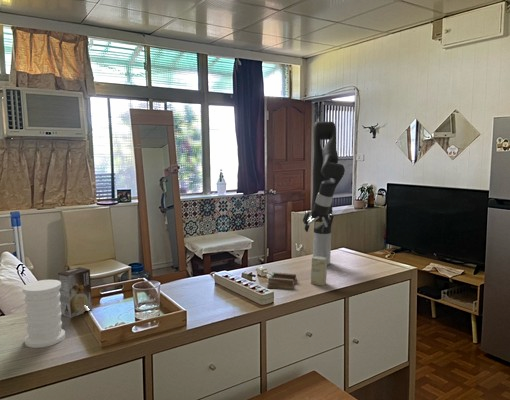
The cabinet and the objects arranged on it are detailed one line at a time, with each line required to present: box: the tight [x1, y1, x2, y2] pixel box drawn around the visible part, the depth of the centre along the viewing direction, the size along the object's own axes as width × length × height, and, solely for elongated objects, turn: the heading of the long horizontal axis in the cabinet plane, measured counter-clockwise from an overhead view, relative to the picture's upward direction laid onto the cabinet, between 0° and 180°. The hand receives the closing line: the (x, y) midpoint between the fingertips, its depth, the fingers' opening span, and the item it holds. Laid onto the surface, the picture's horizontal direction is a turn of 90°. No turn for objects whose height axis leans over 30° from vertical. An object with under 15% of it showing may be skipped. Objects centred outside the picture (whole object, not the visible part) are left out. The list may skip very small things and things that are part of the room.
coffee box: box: [57, 266, 93, 319], centre depth 150 cm, size 9×6×16 cm
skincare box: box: [310, 256, 328, 286], centre depth 185 cm, size 6×4×12 cm
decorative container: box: [21, 279, 66, 349], centre depth 129 cm, size 12×12×18 cm
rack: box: [266, 271, 298, 291], centre depth 184 cm, size 14×11×4 cm
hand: (314, 231), depth 198 cm, fingers open, 8 cm apart
